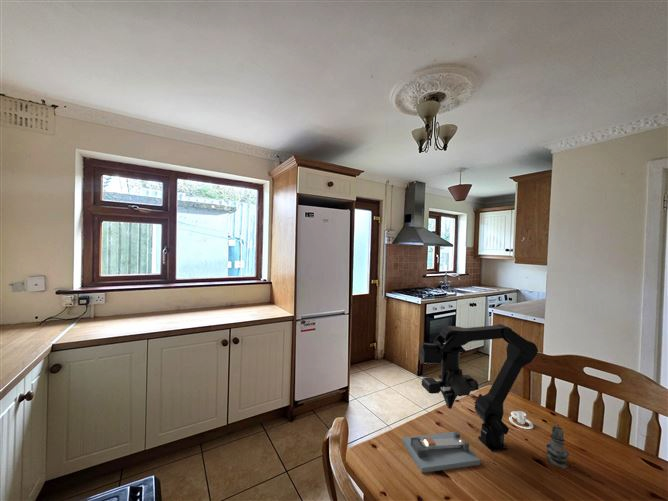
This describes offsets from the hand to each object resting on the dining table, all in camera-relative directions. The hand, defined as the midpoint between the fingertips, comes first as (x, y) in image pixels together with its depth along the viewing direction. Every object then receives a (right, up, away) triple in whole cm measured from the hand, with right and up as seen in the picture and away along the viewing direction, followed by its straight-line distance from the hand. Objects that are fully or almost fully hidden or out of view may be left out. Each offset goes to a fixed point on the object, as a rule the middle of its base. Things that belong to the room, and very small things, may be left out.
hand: (449, 408), depth 93 cm
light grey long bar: (-4, -10, -5) cm, 12 cm away
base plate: (-5, -12, -5) cm, 14 cm away
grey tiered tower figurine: (+32, -13, -7) cm, 35 cm away
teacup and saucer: (+36, -14, +13) cm, 41 cm away
